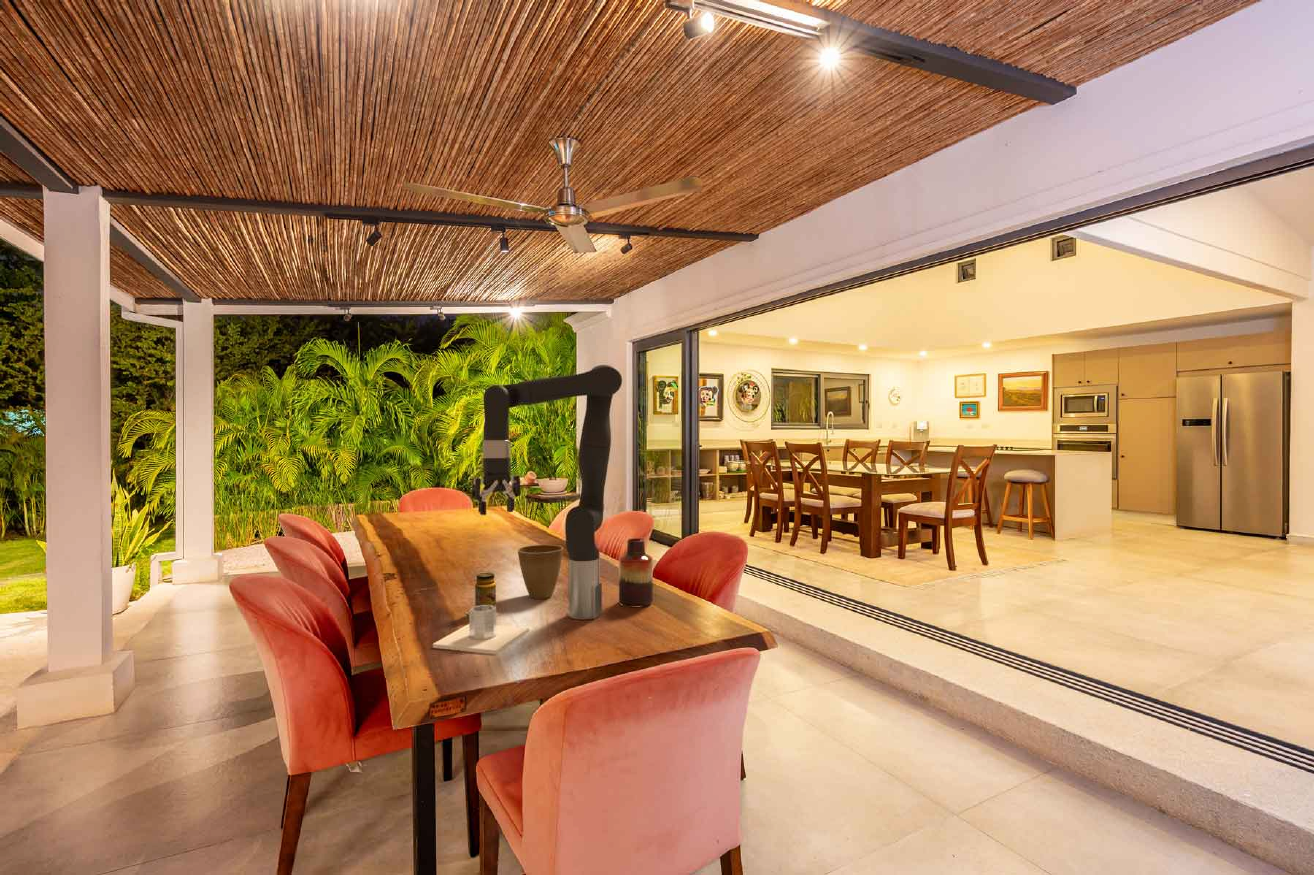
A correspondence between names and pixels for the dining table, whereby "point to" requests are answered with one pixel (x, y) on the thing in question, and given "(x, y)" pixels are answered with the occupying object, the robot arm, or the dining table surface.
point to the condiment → (485, 590)
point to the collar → (482, 621)
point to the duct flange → (481, 640)
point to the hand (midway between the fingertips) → (496, 513)
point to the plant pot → (540, 569)
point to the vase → (635, 575)
